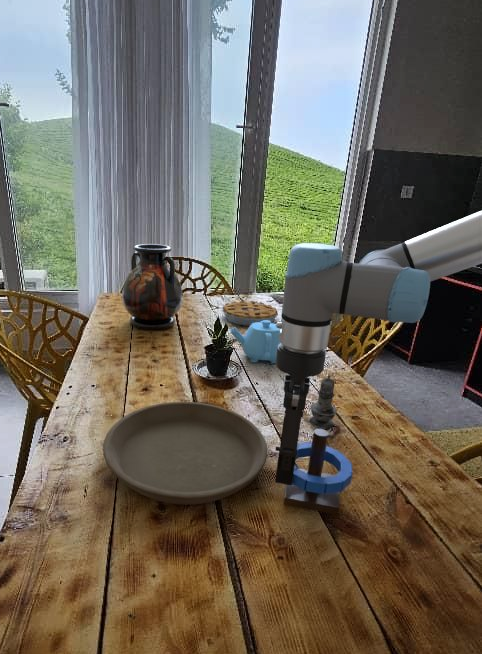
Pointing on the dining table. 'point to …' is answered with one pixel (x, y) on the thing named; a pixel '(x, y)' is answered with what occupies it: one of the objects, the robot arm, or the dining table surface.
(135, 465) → the plant saucer
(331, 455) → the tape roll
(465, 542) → the dining table surface
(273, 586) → the dining table surface
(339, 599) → the dining table surface
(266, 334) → the teapot
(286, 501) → the peg stand
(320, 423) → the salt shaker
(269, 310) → the pie
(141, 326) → the amphora vase
